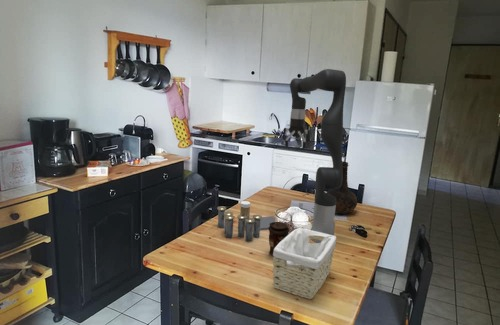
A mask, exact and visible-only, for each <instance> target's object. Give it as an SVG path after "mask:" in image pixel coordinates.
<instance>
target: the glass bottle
mask: <svg viewBox="0 0 500 325" xmlns="http://www.w3.org/2000/svg"><path fill="white" fill-rule="evenodd" d="M349 166H350V165H349V162H347V161H343V160H342V170H343V180H342V185H341V187H340V188H339V189H328V191H326V193H327V194H330V195H332V196H334V197H335V198H336V208H335V214H337V215H347V214H349V213H352V212H354V210H355V209H356V208H357V205H358V197H357V195H356V194H355V192H353V191H351V190H350V189H349V185H348V184H349V183H348V170H349V169H348V168H349Z"/></svg>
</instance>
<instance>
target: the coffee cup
mask: <svg viewBox="0 0 500 325" xmlns="http://www.w3.org/2000/svg"><path fill="white" fill-rule="evenodd" d="M268 233H269V234H268V243H269V252H268V256H269V257H270V258H272V259H273V252H274V249H275V247H276V246H277V245H278V244H279V243H280V242H281V241H282V240H283V239H284V238H285V237H286V236H288V235H289V233H290V228H289V227H288V224H287V223H285V222H282V221H279V222H272V223H270V226H269V228H268Z"/></svg>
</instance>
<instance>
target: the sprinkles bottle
mask: <svg viewBox="0 0 500 325" xmlns="http://www.w3.org/2000/svg"><path fill="white" fill-rule="evenodd" d="M250 208H251V202H250V201H248V200H242V201H240V212H239V215H246V216H247V218H250V213H251V212H250ZM245 232H246V221H245Z"/></svg>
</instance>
